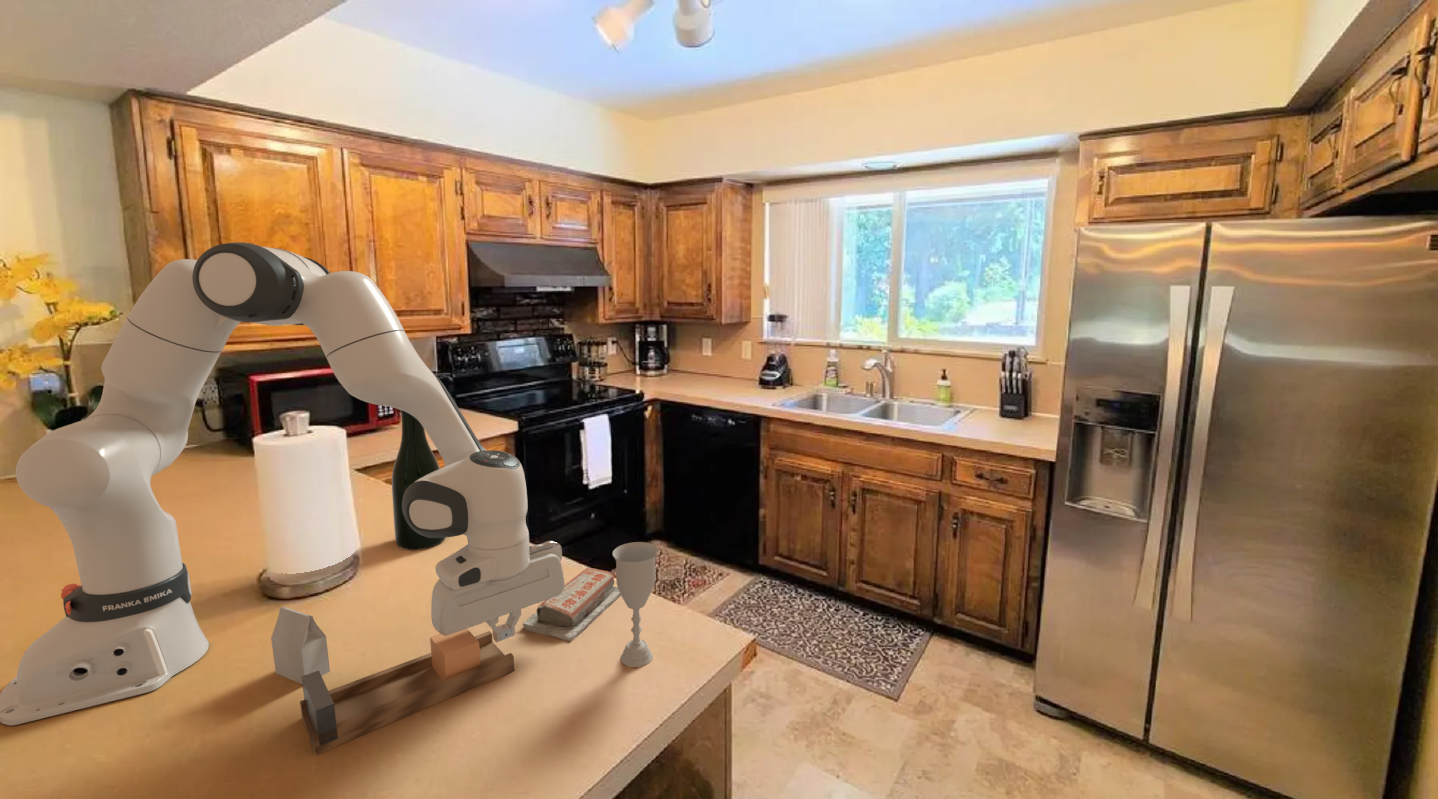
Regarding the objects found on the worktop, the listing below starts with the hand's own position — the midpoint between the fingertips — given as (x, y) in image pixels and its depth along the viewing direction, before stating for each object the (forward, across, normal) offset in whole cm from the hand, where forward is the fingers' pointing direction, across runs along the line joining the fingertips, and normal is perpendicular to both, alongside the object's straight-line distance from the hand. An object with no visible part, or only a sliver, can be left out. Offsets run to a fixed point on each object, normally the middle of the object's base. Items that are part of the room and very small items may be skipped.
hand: (504, 637), depth 98 cm
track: (+3, +14, 0) cm, 14 cm away
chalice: (+3, -16, +14) cm, 21 cm away
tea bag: (+4, +24, -16) cm, 29 cm away
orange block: (+3, +8, 0) cm, 8 cm away
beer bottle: (+3, -4, -54) cm, 54 cm away
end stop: (+2, +25, 0) cm, 25 cm away
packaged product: (+4, -16, -5) cm, 17 cm away
